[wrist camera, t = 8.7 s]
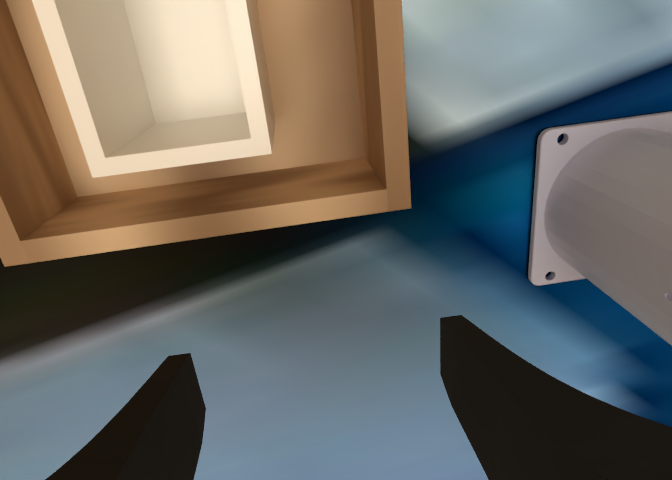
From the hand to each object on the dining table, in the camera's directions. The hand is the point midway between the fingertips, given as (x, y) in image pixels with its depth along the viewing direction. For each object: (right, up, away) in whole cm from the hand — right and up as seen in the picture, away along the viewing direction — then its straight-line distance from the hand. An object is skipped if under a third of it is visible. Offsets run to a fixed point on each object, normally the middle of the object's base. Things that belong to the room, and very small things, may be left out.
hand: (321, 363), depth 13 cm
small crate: (-5, +11, +4) cm, 13 cm away
